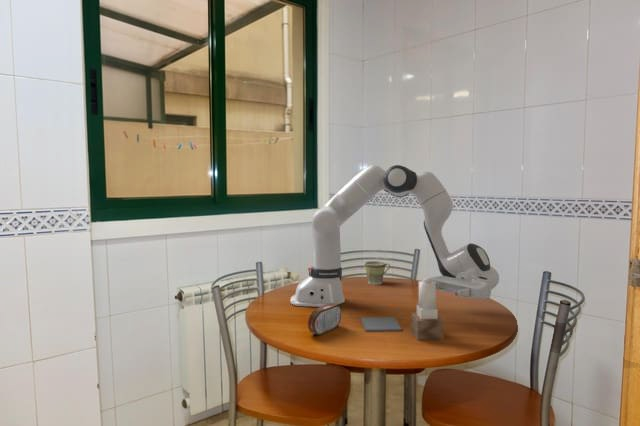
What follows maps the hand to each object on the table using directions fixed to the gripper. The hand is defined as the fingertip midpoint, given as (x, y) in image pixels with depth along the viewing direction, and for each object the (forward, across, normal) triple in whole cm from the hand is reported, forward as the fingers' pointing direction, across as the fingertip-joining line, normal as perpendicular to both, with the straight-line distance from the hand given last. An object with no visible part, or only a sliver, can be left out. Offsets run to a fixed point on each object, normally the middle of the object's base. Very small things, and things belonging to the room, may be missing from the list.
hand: (444, 290), depth 135 cm
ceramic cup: (-30, -58, +13) cm, 67 cm away
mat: (+14, -16, +13) cm, 25 cm away
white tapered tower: (+9, 0, +7) cm, 12 cm away
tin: (+32, -23, +13) cm, 42 cm away
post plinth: (+9, 0, +13) cm, 16 cm away
